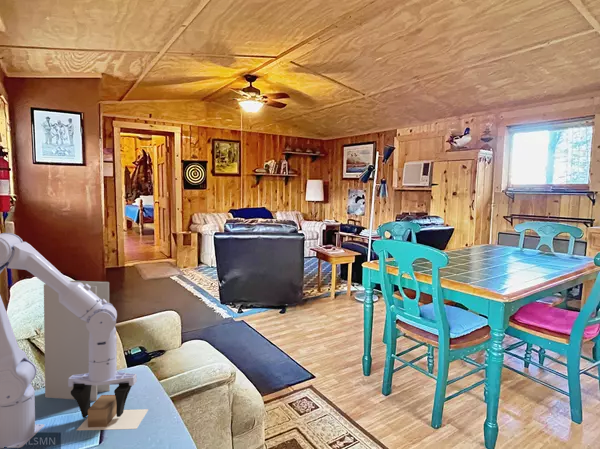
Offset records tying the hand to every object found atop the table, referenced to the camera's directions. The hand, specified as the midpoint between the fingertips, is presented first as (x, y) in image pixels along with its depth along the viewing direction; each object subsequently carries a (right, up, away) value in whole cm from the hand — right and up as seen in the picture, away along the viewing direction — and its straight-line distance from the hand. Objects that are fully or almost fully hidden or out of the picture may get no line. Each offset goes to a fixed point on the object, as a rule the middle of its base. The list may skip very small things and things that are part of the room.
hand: (103, 414), depth 86 cm
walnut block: (0, -1, 0) cm, 1 cm away
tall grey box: (-13, -1, +12) cm, 17 cm away
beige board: (+2, -2, 0) cm, 3 cm away
